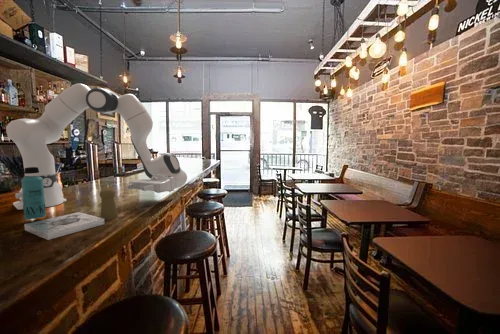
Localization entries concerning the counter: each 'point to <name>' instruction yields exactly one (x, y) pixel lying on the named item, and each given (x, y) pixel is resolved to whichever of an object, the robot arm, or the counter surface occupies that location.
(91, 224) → the jig plate
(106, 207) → the olive peg doll
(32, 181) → the beverage bottle
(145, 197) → the counter surface
